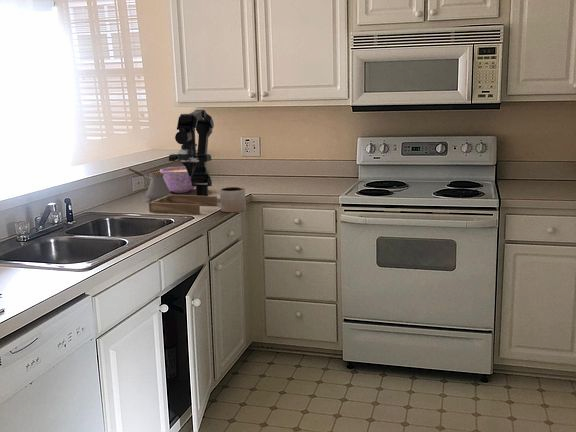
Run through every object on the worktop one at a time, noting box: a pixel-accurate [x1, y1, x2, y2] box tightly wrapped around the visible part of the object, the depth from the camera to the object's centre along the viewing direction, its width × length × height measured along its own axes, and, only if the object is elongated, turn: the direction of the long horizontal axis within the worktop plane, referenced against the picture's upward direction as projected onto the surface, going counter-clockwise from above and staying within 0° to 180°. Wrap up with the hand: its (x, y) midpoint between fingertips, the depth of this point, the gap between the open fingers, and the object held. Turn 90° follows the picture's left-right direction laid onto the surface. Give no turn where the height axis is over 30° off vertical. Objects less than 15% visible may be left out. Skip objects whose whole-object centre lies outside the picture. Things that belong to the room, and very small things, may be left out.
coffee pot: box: [126, 167, 172, 202], centre depth 302 cm, size 21×12×15 cm, turn 74°
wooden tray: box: [148, 194, 218, 215], centre depth 281 cm, size 20×24×4 cm
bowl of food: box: [159, 166, 196, 194], centre depth 324 cm, size 20×20×12 cm
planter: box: [219, 186, 247, 214], centre depth 274 cm, size 11×11×10 cm
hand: (190, 176), depth 286 cm, fingers closed
